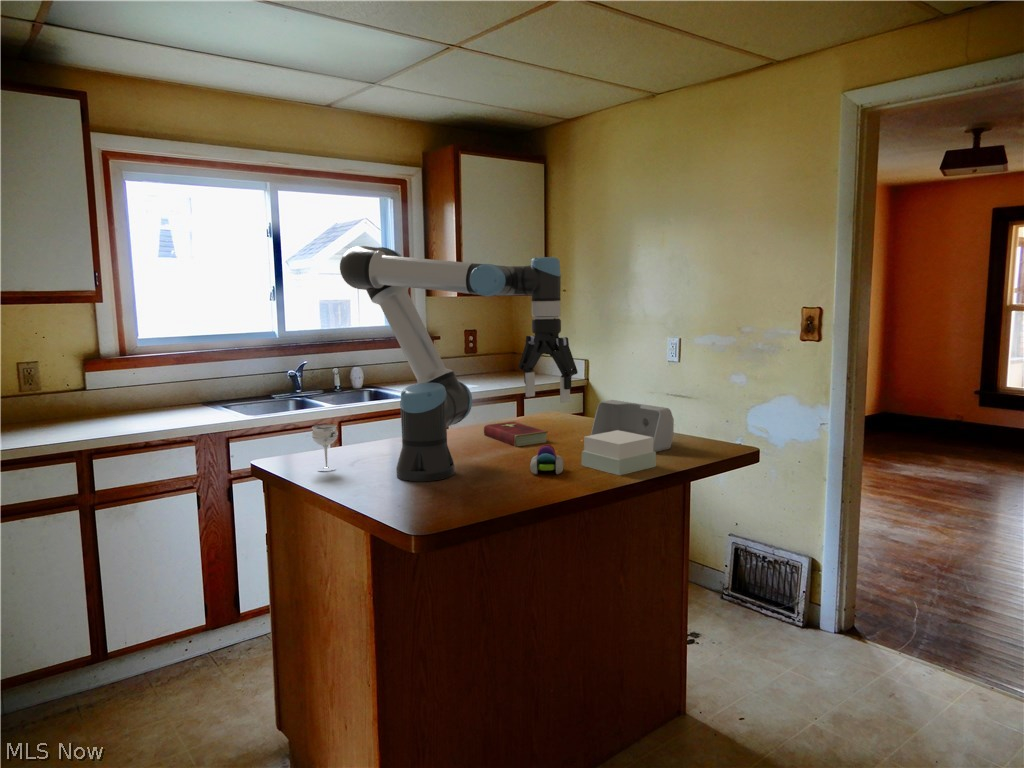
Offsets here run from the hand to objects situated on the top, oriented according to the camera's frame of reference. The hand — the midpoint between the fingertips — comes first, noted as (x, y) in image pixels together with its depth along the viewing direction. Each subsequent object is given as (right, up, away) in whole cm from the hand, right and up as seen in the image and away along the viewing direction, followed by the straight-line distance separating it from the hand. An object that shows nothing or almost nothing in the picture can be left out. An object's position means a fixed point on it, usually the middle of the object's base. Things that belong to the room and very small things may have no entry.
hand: (547, 399), depth 182 cm
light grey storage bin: (+29, -15, +33) cm, 46 cm away
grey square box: (+19, -18, +5) cm, 27 cm away
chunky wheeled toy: (0, -19, +1) cm, 19 cm away
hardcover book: (-8, -14, +43) cm, 46 cm away
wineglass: (-60, -20, +6) cm, 63 cm away
